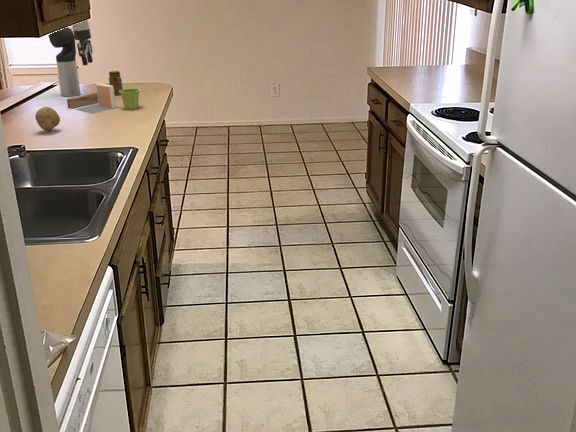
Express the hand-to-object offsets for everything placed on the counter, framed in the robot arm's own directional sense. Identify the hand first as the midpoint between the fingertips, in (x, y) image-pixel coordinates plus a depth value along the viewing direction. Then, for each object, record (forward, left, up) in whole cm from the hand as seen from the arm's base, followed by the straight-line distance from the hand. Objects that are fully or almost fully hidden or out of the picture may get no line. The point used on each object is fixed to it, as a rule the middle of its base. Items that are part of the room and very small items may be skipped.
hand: (88, 63), depth 296 cm
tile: (+20, -7, -17) cm, 27 cm away
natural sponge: (+35, -46, -18) cm, 61 cm away
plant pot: (+31, -2, -18) cm, 36 cm away
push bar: (+8, -6, -18) cm, 21 cm away
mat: (+19, -11, -18) cm, 28 cm away
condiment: (+2, +14, -18) cm, 23 cm away
